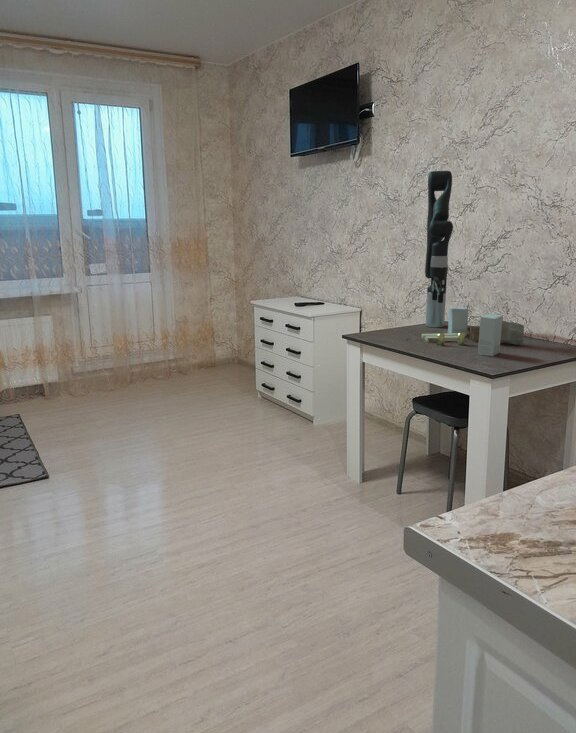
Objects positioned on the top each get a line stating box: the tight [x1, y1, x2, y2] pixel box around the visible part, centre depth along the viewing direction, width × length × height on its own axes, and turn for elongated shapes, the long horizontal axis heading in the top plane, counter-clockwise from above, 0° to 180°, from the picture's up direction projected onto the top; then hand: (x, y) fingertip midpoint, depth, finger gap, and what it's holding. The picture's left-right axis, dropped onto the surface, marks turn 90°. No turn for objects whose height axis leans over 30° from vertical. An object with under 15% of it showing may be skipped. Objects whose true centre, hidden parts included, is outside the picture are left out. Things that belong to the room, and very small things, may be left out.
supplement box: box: [447, 306, 469, 337], centre depth 280 cm, size 7×7×13 cm
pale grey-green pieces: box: [420, 332, 458, 343], centre depth 270 cm, size 10×16×2 cm, turn 95°
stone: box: [500, 320, 525, 346], centre depth 257 cm, size 14×6×10 cm, turn 30°
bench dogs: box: [436, 332, 466, 346], centre depth 258 cm, size 3×12×5 cm, turn 95°
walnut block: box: [469, 325, 480, 342], centre depth 268 cm, size 5×5×6 cm
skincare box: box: [477, 313, 504, 357], centre depth 239 cm, size 8×7×16 cm
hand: (437, 301), depth 276 cm, fingers open, 8 cm apart
